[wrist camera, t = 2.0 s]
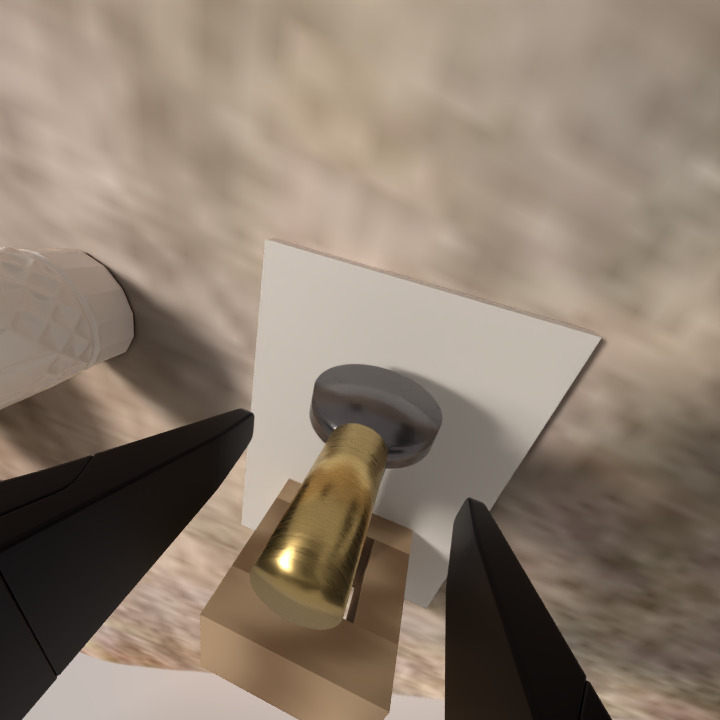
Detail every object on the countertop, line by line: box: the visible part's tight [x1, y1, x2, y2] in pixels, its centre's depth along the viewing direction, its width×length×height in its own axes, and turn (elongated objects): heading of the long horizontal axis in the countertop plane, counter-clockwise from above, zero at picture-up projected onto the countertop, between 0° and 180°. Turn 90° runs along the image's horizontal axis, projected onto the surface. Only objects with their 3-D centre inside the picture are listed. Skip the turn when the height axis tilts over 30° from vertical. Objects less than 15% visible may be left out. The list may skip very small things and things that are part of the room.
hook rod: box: [250, 364, 442, 630], centre depth 13 cm, size 5×18×9 cm, turn 167°
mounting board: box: [241, 239, 601, 608], centre depth 17 cm, size 14×20×1 cm
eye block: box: [200, 479, 413, 720], centre depth 16 cm, size 8×5×8 cm, turn 77°
